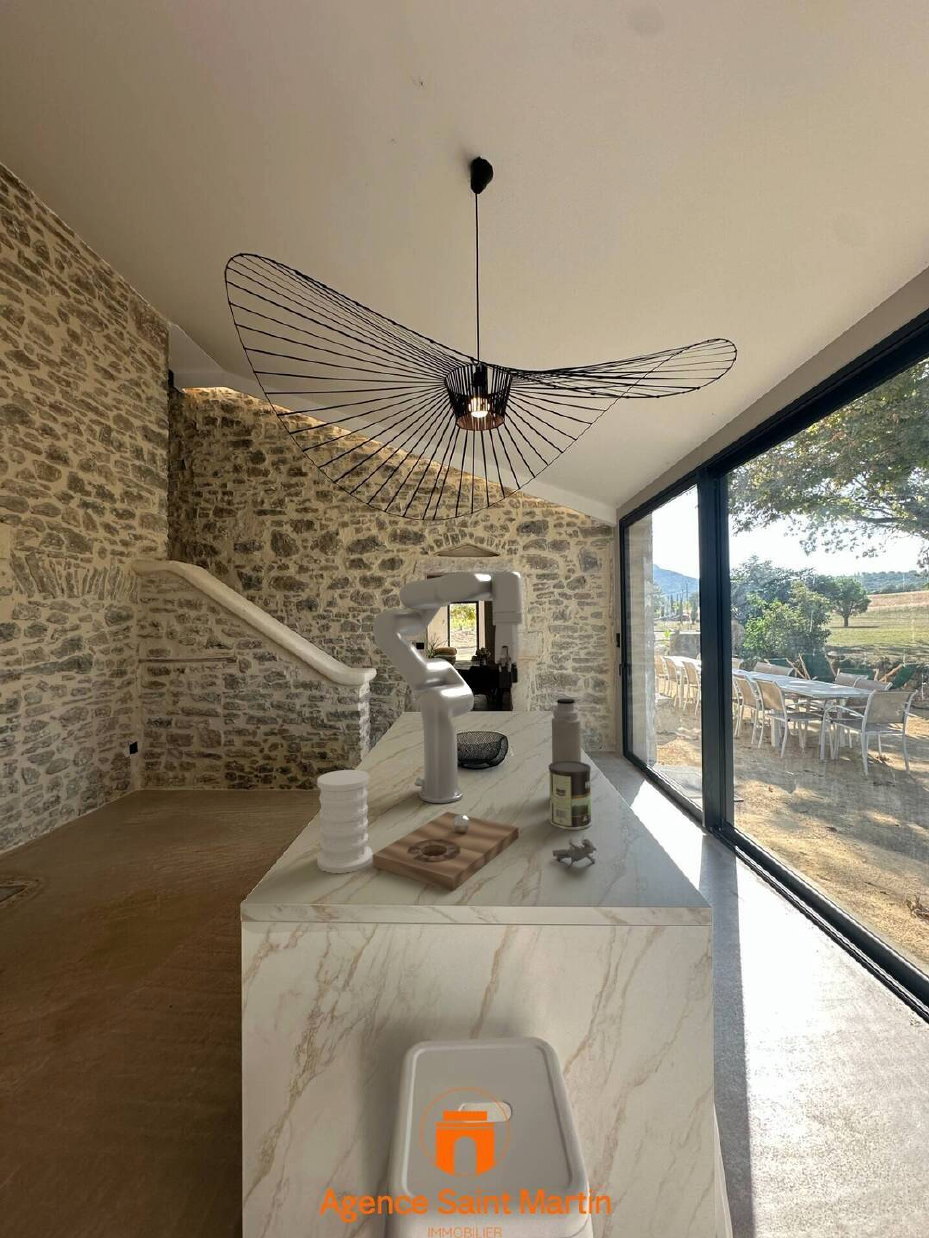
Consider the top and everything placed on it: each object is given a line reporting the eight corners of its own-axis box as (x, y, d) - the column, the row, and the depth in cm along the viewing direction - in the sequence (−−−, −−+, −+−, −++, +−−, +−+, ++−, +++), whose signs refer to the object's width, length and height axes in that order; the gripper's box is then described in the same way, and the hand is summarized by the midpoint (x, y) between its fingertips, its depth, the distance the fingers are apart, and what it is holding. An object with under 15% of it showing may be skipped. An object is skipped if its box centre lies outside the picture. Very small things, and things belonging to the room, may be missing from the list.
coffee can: (590, 815, 140) (590, 761, 139) (592, 831, 129) (591, 772, 129) (550, 813, 142) (549, 759, 142) (548, 828, 132) (547, 770, 131)
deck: (447, 821, 137) (447, 811, 137) (518, 837, 127) (518, 827, 126) (373, 866, 113) (372, 854, 113) (453, 890, 103) (452, 877, 103)
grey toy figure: (569, 851, 120) (605, 846, 114) (567, 879, 115) (605, 875, 110) (542, 831, 115) (579, 825, 110) (540, 859, 111) (578, 854, 106)
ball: (449, 833, 123) (449, 815, 123) (458, 827, 127) (458, 810, 127) (464, 836, 121) (464, 819, 121) (473, 830, 125) (473, 813, 125)
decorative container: (326, 849, 122) (324, 769, 122) (377, 848, 122) (375, 769, 122) (309, 873, 111) (308, 785, 110) (366, 873, 110) (364, 785, 110)
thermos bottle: (555, 792, 158) (554, 696, 158) (583, 794, 155) (581, 697, 155) (550, 801, 150) (549, 700, 150) (579, 804, 148) (578, 702, 147)
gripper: (498, 619, 150) (500, 681, 150) (486, 619, 133) (488, 689, 133) (525, 618, 148) (527, 681, 148) (517, 619, 131) (518, 689, 131)
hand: (508, 685), depth 140 cm, fingers open, 9 cm apart
